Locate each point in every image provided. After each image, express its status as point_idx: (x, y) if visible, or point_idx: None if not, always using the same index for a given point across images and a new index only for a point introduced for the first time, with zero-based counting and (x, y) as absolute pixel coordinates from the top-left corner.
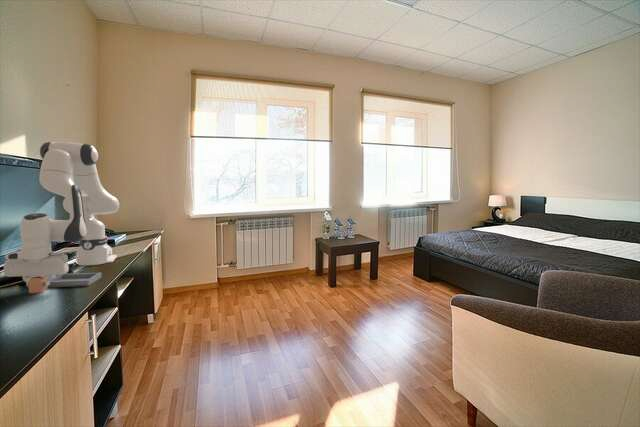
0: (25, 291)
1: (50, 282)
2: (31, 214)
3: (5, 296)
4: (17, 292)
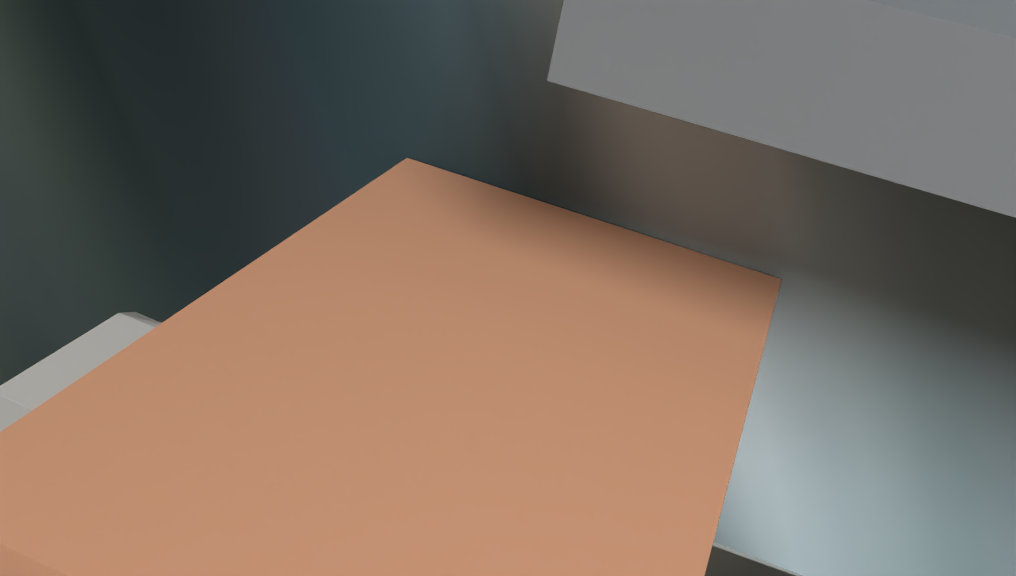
0: (197, 220)
1: (852, 162)
2: None
3: None
4: (54, 225)
